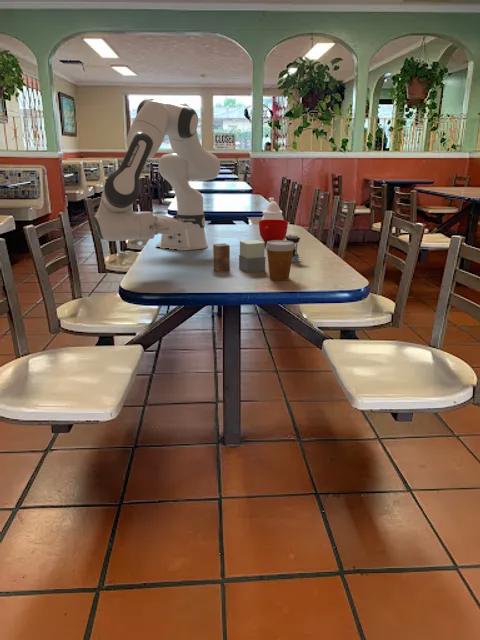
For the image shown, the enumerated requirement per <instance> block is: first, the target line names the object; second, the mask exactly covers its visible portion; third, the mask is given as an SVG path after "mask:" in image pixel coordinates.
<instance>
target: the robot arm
mask: <svg viewBox="0 0 480 640" xmlns="http://www.w3.org/2000/svg"><path fill="white" fill-rule="evenodd" d="M198 117H199V116H198V113H197V111H196V110H195V109H193V108H192V107H190V106H189V105H188V104H187V103H185V102H184V101H175V102H174V101H173V102H171V101H166V100H156V99H154V98H146V99H143V100H142V101H141V102H139V104H138V106H137V108H136V116H135V117H134V119H133V121H132V123H131V126H130V128H129V131H128V134H127V138H126V146H127V151H126V153H125V155H124V158H123V159H122V161H121V164H120V166H119V168H117V169H116V170H115V171H114V172H112V173H111V174H110V175H109V176H108V177H107V178H106V180H105V182H104V188H103V191H102V193H101V198H100V202H99V206H98V208H97V212H96V213H95V215H94V216H93V220H92V221H93V227H94V230H95V233H96V235H97V237H98V238H99V239H101V240H103V241H106V242H107V241H109V242H122V241H129V240H137V241H139V240H140V241H141V240H154V239H155V236H157V235H159V234H160V235H161V237H160V242H158V243H156V244H155V247H160V248H159V249H165V248H169V249H168V250H174V249H177V250H176V251H191V250H202V249H206V248H208V247H209V245H208V241H207V237H206V232H205V226H206V219H205V213H204V196H203V195H202V193H201V192H200V191H199V190H197V189H195V188H193V187H191V185H190V183H189V182H190V181H194V182H195V181H199V182H201V181H203V182H205V181H210V180H215V179H216V178H217V177H218V176H219V174H220V172H221V163H220V159H219V158H218V157H217V156H216V155H215V154H213V153H211V152H210V151H208V150H207V149H206V148H205V147H204V146H203V145H202V144H201V142H200V138H199V136H198V135H199V134H198V131H197V130H198V125H199V118H198ZM166 136H168V138H169V139H168V141H169V144H170V149H172V151H173V152H169V153H165V154H163V155H162V156H161V157H160V158H159V161H158V172H159V175H160V176H161V177H162V178H163V179H164V180H165V181H167V182H168V183H169V184H170V186H171V187H172V189H173V191H174V194H175V198H176V206H177V207H176V209H177V214H174V215H173V216H172V217H170V216H167V215H165V214H156V213H155V214H154V213H153V212H152V211H150V210H149V211H145V210H144V211H134V210H133V204H134V202H136V201H137V199H138V197H139V194H140V176H141V175H142V173H143V172H142V171H143V169H144V167H145V165H146V162H147V161H148V159H151V158H153V157H154V156H155V155H156V154H157V152H158V150H159V149H160V148H161V146H162V143H163V141H164V139H165V137H166Z"/></svg>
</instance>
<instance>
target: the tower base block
mask: <svg viewBox="0 0 480 640" xmlns="http://www.w3.org/2000/svg"><path fill="white" fill-rule="evenodd" d="M238 269H240V270H241V271H243V272H245V273H254V272H255V273H256V272H258V273H259V272H265V271H266V256H264V257H260V258H248V259H247V258H245V257H243V256H241V255H240V254H239V255H238Z"/></svg>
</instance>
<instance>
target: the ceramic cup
mask: <svg viewBox="0 0 480 640" xmlns="http://www.w3.org/2000/svg"><path fill="white" fill-rule="evenodd" d="M258 228H259V229H258V230H259V231H258V232H259V233H260V235H261V236H260V235H259V236H260V237H261V239H262V240H263V241H262V242H264V243H265V244H266V245H267V242H268V241H273V240H284V239H286V237H287V236H286V235H287V233H288V232H287V231H288V220H285V219H283V220H262V219H261V220H259V221H258Z"/></svg>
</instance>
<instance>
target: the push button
mask: <svg viewBox="0 0 480 640" xmlns="http://www.w3.org/2000/svg"><path fill="white" fill-rule="evenodd" d="M300 239H301V237H299V235H298V234H288V236H285V240H286V241H291V242H293V243H294V246H295V248H294V250H293V255H292V261H291V263H292V262H295V263H298V262H299V261H301V258H302V259H303V257H302V256H299V254H298V243H300Z"/></svg>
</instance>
